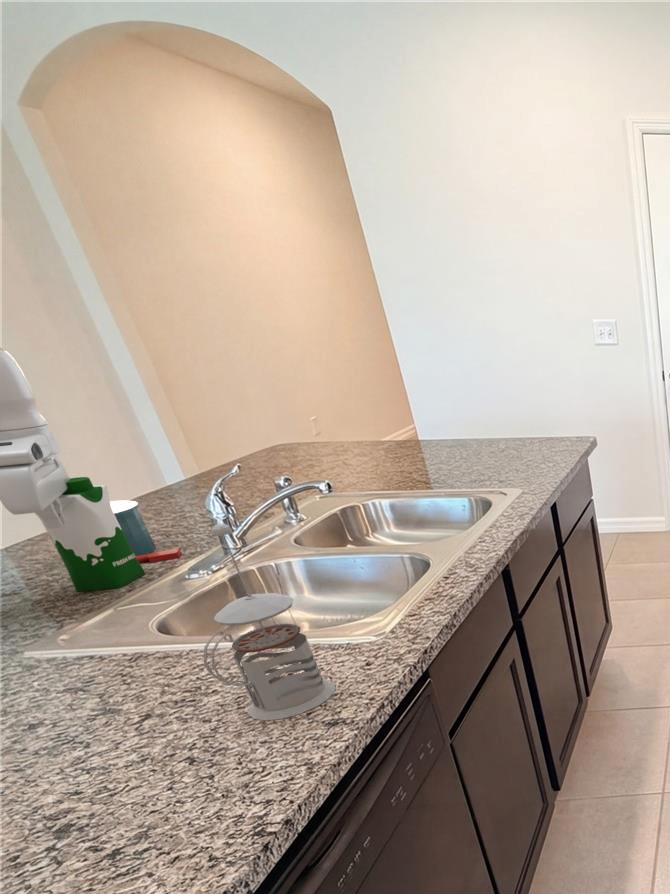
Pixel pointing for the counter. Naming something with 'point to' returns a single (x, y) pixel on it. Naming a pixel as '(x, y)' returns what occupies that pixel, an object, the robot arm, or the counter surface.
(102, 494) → the milk carton
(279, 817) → the counter surface
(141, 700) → the counter surface
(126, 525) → the pot
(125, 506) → the white round shallow piece
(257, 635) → the french press
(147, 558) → the red long bar
